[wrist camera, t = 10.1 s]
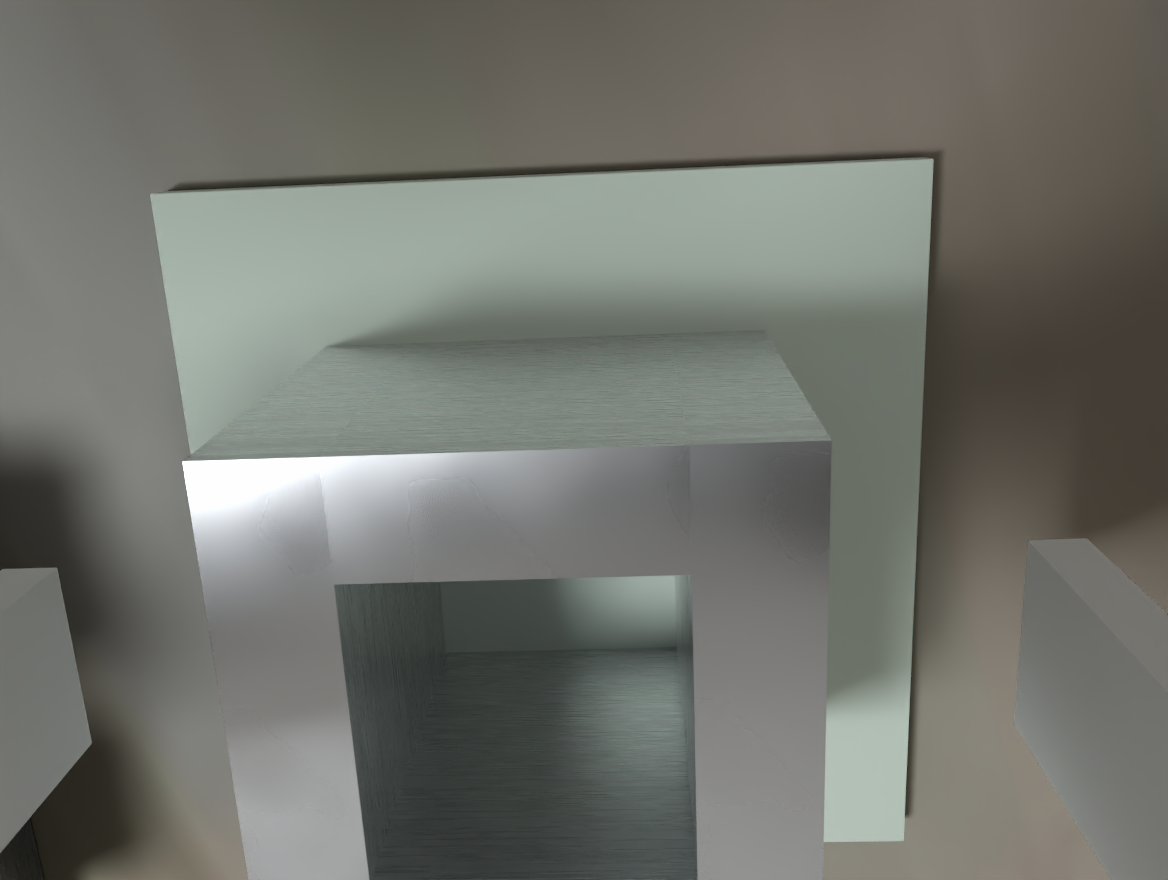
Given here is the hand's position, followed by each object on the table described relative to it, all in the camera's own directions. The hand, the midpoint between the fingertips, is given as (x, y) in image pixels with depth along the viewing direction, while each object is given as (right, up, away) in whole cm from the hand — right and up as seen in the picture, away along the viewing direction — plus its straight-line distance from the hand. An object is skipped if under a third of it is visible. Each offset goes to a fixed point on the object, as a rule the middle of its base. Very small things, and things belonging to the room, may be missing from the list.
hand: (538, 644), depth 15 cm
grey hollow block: (0, +1, +4) cm, 4 cm away
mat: (0, +1, +4) cm, 4 cm away
